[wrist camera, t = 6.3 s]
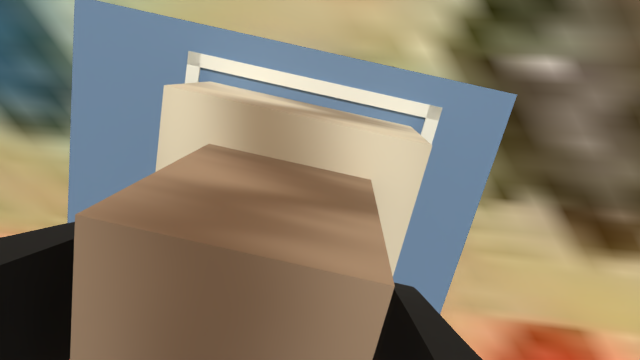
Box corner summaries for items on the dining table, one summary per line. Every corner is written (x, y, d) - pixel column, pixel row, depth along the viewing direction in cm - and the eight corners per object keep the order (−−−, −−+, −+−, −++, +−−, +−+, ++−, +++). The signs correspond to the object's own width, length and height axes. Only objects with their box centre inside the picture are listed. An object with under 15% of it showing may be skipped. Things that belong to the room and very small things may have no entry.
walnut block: (371, 179, 12) (394, 286, 6) (334, 319, 13) (325, 515, 7) (209, 143, 12) (75, 214, 6) (189, 286, 13) (66, 456, 7)
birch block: (410, 126, 15) (432, 145, 11) (361, 301, 17) (365, 366, 14) (210, 81, 15) (164, 85, 11) (186, 261, 17) (141, 316, 14)
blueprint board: (510, 94, 15) (518, 94, 14) (400, 411, 20) (402, 423, 19) (85, -2, 15) (73, -5, 15) (71, 336, 20) (62, 345, 19)
